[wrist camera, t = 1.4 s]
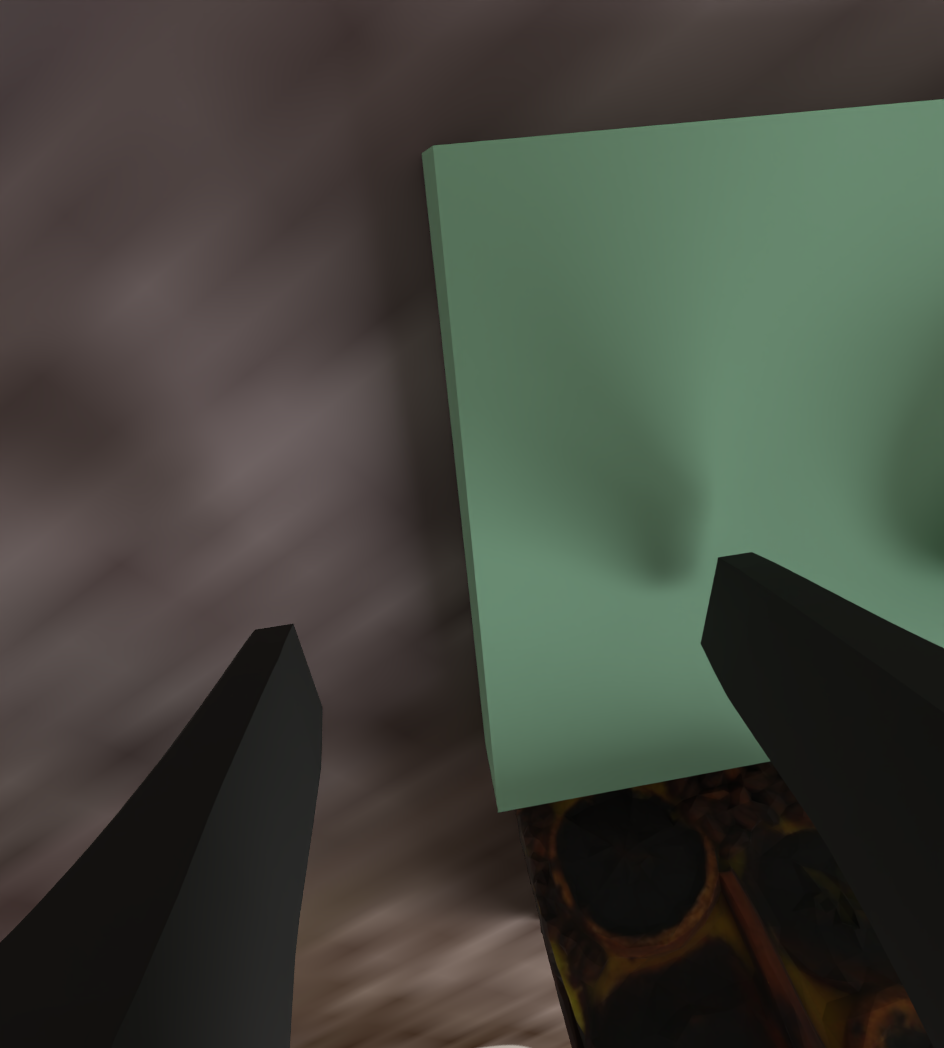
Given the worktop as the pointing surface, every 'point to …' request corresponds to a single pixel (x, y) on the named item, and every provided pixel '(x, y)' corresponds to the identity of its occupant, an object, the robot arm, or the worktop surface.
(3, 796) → the worktop surface
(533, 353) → the green mat
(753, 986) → the yellow cube with hole
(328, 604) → the worktop surface
